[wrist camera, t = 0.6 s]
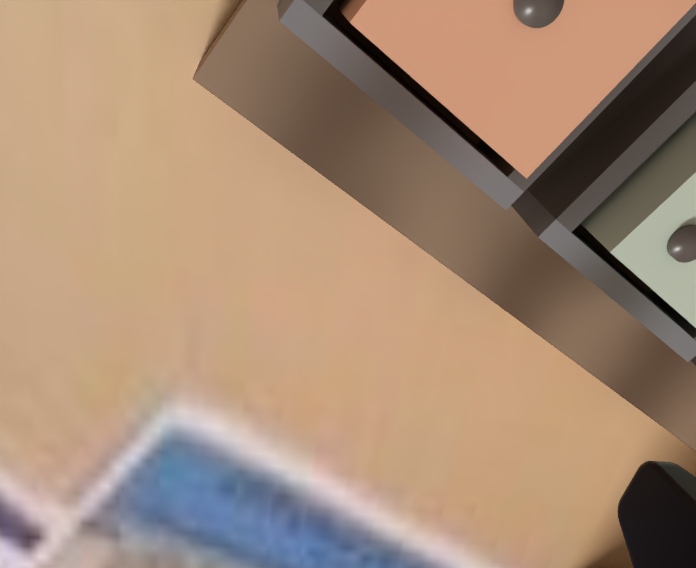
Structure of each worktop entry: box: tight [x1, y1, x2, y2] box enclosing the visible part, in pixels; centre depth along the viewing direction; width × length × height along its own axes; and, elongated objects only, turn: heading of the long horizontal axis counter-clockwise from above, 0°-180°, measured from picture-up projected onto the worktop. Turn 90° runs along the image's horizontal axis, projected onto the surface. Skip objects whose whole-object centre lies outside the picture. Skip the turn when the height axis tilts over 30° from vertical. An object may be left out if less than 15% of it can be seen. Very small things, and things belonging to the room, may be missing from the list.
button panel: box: [193, 0, 696, 451], centre depth 18 cm, size 24×12×4 cm, turn 50°
